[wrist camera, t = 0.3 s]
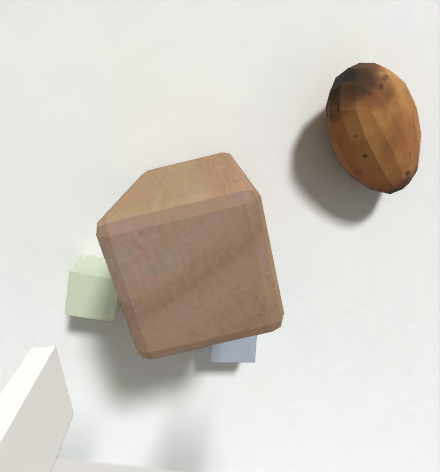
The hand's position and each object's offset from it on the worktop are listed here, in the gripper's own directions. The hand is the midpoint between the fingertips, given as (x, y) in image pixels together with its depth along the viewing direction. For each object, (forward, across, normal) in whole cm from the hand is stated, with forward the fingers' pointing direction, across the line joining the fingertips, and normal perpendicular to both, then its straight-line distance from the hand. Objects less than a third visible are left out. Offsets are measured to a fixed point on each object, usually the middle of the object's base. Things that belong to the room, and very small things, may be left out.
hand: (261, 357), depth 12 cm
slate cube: (+30, +1, -17) cm, 34 cm away
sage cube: (+30, -14, -10) cm, 35 cm away
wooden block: (+30, -2, -2) cm, 30 cm away
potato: (+30, +16, +4) cm, 34 cm away
